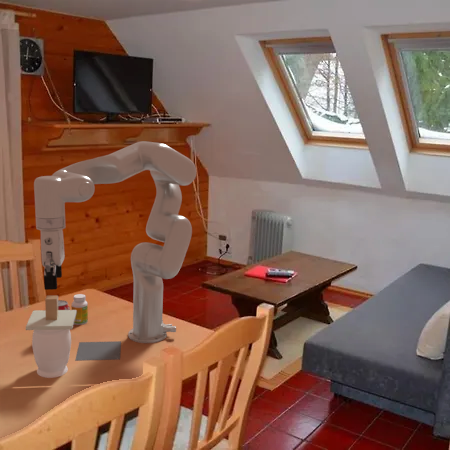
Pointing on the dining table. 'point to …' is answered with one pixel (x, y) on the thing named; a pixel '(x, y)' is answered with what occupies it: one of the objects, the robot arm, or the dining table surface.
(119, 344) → the mat
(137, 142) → the robot arm
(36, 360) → the jar
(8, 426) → the dining table surface
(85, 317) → the supplement bottle
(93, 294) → the dining table surface
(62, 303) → the beverage can
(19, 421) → the dining table surface
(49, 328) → the lid
